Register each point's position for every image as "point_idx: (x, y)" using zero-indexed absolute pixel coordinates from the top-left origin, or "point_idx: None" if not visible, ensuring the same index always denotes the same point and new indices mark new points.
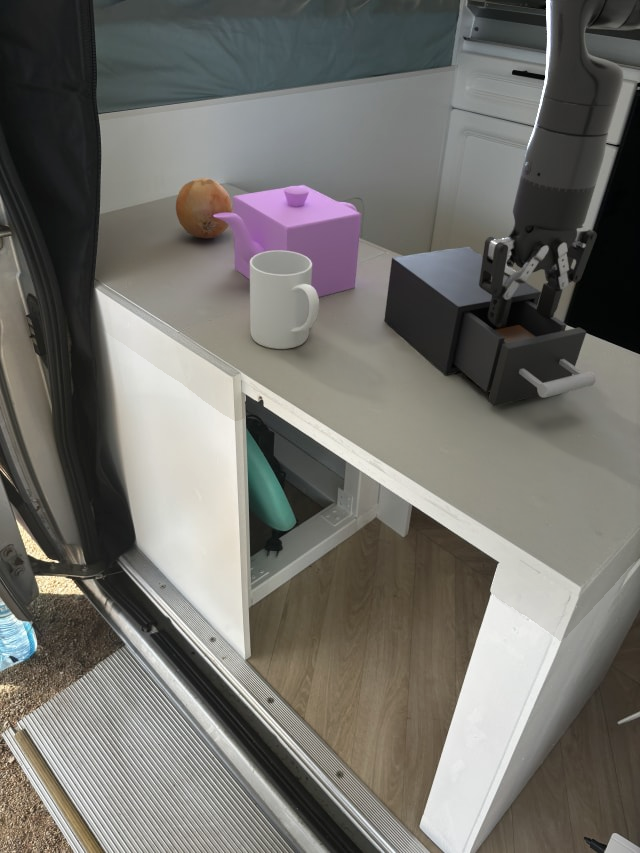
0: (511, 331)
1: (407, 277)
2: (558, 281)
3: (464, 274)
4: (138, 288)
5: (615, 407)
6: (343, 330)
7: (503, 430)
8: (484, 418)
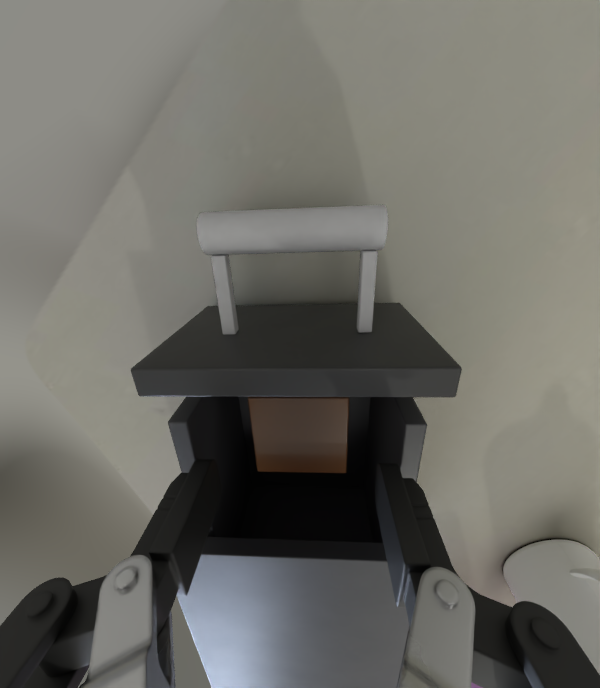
0: (296, 456)
1: None
2: (153, 607)
3: (304, 642)
4: None
5: (136, 226)
6: (450, 549)
7: (417, 241)
8: (422, 289)
